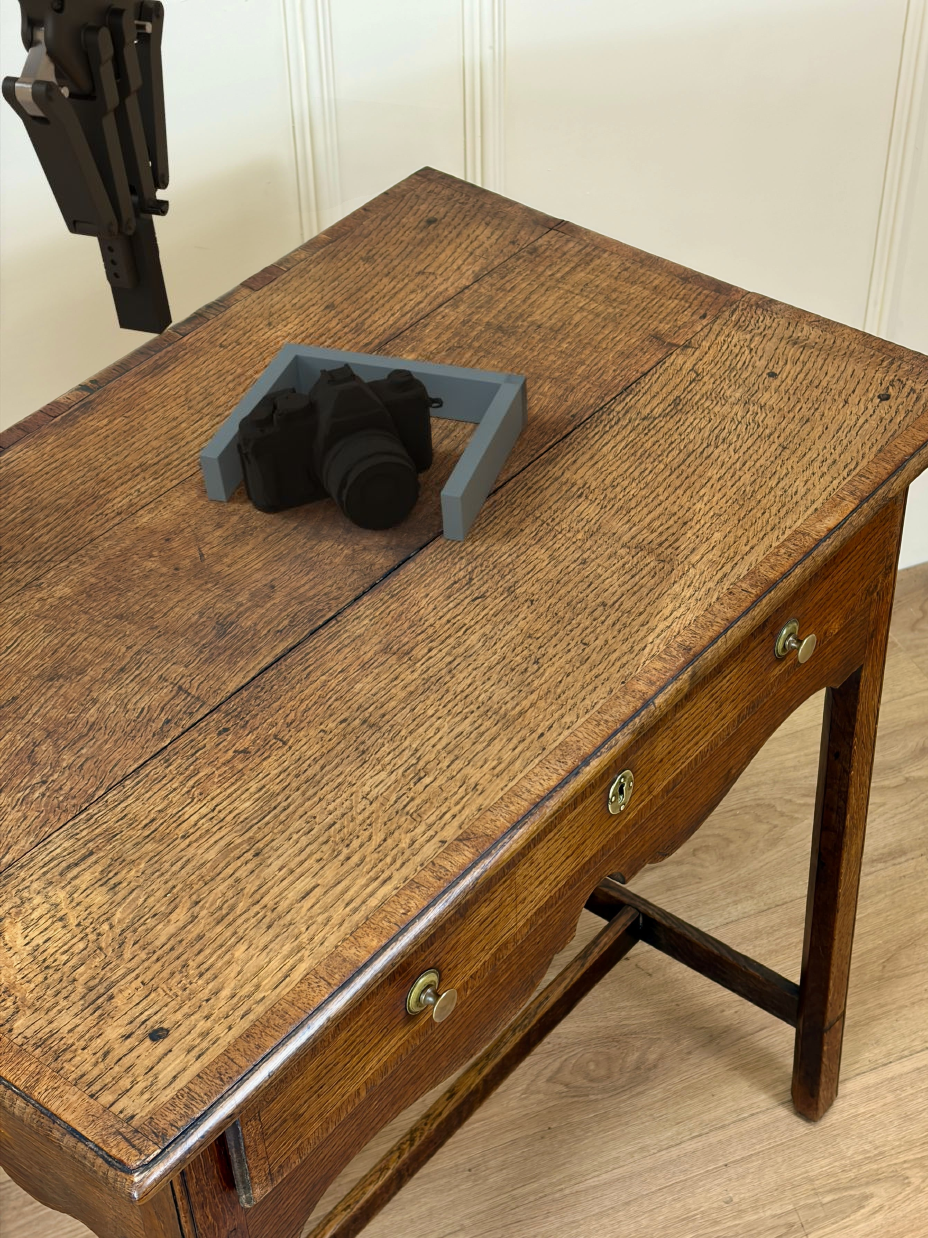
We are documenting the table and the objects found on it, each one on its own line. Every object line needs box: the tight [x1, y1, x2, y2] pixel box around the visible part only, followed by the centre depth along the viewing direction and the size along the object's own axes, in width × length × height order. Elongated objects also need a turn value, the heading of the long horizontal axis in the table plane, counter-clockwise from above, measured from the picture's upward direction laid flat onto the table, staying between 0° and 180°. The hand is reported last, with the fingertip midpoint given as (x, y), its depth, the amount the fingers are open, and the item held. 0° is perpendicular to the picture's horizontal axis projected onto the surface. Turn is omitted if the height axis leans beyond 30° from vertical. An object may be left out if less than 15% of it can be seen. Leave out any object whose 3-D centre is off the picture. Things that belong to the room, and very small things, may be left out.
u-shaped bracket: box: [198, 342, 528, 543], centre depth 110 cm, size 20×16×4 cm
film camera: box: [237, 363, 443, 531], centre depth 105 cm, size 15×10×9 cm, turn 113°
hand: (146, 324), depth 87 cm, fingers closed
